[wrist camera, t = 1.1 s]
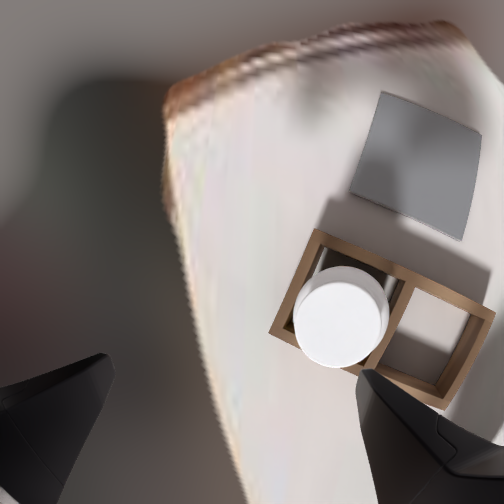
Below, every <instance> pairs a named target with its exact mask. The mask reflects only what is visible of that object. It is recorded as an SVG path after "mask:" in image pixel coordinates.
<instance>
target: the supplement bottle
mask: <svg viewBox="0 0 504 504" xmlns="http://www.w3.org/2000/svg"><path fill="white" fill-rule="evenodd" d="M293 322H294V329H295V335H296V339H297V341H298V344H299V346H300V347H301V349H302V350H303V352H304V353H305V354H306V355H307V356H308V357H309V358H310V359H311V360H313V361H315V362H316V363H318V364H320V365H323V366H327V367H333V368H341V367H347V366H351V365H354V364H356V363H358V362H360V361H361V360H363V359H364V358H365V357H366V356H368V355H369V354H370V352H372V351H373V350H374V349H375V348H376V347H377V346H378V344H379V343H380V342H381V340H382V338H383V336H384V334H385V332H386V329H387V326H388V322H389V305H388V300H387V297H386V294H385V292H384V290H383V288H382V287H381V285H380V284H379V283H378V282H377V281H376V280H375V279H374V278H373V277H372V276H371V275H369V274H368V273H366V272H364V271H362V270H360V269H358V268H354V267H348V266H337V267H332V268H328V269H325V270H323V271H321V272H319V273H317V274H316V275H314V276H313V277H312V278H311V279H309V280H308V281H307V282H306V283H305V285H304V286H303V287H302V289H301V290H300V292H299V294H298V296H297V299H296V302H295V306H294V311H293Z"/></svg>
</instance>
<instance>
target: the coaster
mask: <svg viewBox="0 0 504 504" xmlns="http://www.w3.org/2000/svg"><path fill="white" fill-rule="evenodd" d="M481 139H482V135H481V134H479V133H477V132H475V131H473V130H471V129H469V128H467V127H465V126H463V125H461V124H459V123H457V122H455V121H453V120H451V119H449V118H447V117H444V116H442V115H440V114H438V113H435V112H433V111H431V110H428V109H426V108H423V107H421V106H418V105H416V104H413V103H410V102H408V101H405V100H402V99H399V98H396V97H393V96H390V95H387V94H384V93H381V95H380V98H379V102H378V105H377V109H376V112H375V115H374V119H373V122H372V125H371V128H370V131H369V134H368V138H367V141H366V144H365V147H364V150H363V153H362V156H361V159H360V161H359V164H358V167H357V170H356V173H355V176H354V178H353V181H352V184H351V187H350V189H349V193H352V194H354V195H357V196H359V197H362V198H364V199H367V200H369V201H372V202H374V203H377V204H379V205H382V206H384V207H386V208H389V209H391V210H393V211H396V212H398V213H400V214H403V215H405V216H407V217H409V218H411V219H414V220H416V221H418V222H420V223H422V224H424V225H427V226H429V227H431V228H433V229H435V230H437V231H439V232H441V233H443V234H445V235H447V236H449V237H451V238H453V239H455V240H457V241H462V238H463V234H464V230H465V227H466V223H467V219H468V215H469V211H470V207H471V202H472V198H473V193H474V188H475V182H476V177H477V171H478V164H479V157H480V149H481Z"/></svg>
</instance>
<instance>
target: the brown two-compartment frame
mask: <svg viewBox="0 0 504 504" xmlns="http://www.w3.org/2000/svg"><path fill="white" fill-rule="evenodd" d="M324 247H327V248H329V249H331V250H334V251H336V252H338V253H340V254H343V255H345V256H347V257H350V258H352V259H354V260H357V261H359V262H361V263H363V264H366V265H368V266H370V267H372V268H375V269H377V270H379V271H381V272H384V273H386V274H388V275H390V276H392V277H395V278H397V279H399V282H398V284H397V287H396V289H395V291H394V294H393V296H392V298H391V300H390V303H389V322H388V326H387V329H386V332H385V334H384V336H383V338H382V340H381V342H380V343H379V344H378V346H377V347H376V348H375V349H374V350H373V351H372V352H370V354H369V355H368V356H366V357H365V358H364V359H363V360H361V361H360V362H358V363H356V364H354V365H351V366H347V367H341V369H343V370H345V371H348V372H350V373H352V374H354V375H356V376H359V373H360V370H362V369H369V368H372V369H374V370H375V371H377V372H378V373H380V374H381V375H383V376H384V377H385V378H387V379H388V380H390V381H391V382H393V383H394V384H396V385H397V386H399V387H400V388H401V389H403V390H404V391H406V392H407V393H409V394H410V395H412V396H413V397H415V398H416V399H418V400H419V401H421V402H422V403H425V404H427V405H430V406H433V407H435V408H438V409H441V410H444V411H445V409H446V408H447V406H448V405H449V403H450V402H451V400H452V399H453V397H454V396H455V394H456V392H457V391H458V389H459V387H460V386H461V384H462V382H463V381H464V379H465V377H466V375H467V374H468V372H469V370H470V368H471V366H472V364H473V363H474V361H475V359H476V357H477V355H478V353H479V351H480V349H481V347H482V345H483V342H484V340H485V338H486V336H487V334H488V331H489V329H490V327H491V324H492V322H493V320H494V317H495V315H496V312H494V311H492V310H490V309H488V308H486V307H484V306H482V305H481V304H479V303H477V302H475V301H473V300H471V299H469V298H467V297H465V296H463V295H461V294H459V293H457V292H455V291H453V290H451V289H449V288H447V287H445V286H443V285H441V284H439V283H437V282H435V281H432V280H430V279H428V278H426V277H424V276H422V275H420V274H418V273H416V272H413V271H411V270H409V269H407V268H405V267H403V266H400V265H398V264H396V263H394V262H392V261H389V260H387V259H385V258H383V257H380V256H378V255H376V254H374V253H371V252H369V251H367V250H365V249H362V248H360V247H358V246H355V245H353V244H351V243H348V242H346V241H344V240H341V239H339V238H336V237H334V236H332V235H329V234H327V233H324V232H322V231H320V230H317V229H315V228H314V230H313V232H312V235H311V237H310V240H309V242H308V244H307V247H306V249H305V252H304V254H303V256H302V259H301V261H300V263H299V266H298V268H297V270H296V273H295V275H294V277H293V279H292V282H291V284H290V286H289V289H288V291H287V293H286V295H285V298H284V300H283V302H282V304H281V306H280V309H279V311H278V313H277V315H276V317H275V320H274V322H273V324H272V326H271V328H270V330H269V332H268V333H269V334H271V335H273V336H275V337H277V338H279V339H281V340H283V341H285V342H287V343H289V344H291V345H293V346H295V347H297V348H299V349H301V347H300V346H299V344H298V341H297V339H296V335H295V329H294V323H293V322H292V319H293V311H294V306H295V302H296V299H297V296H298V294H299V292H300V290H301V289H302V287H303V286H304V285H305V283H306V282H307V281H308V280H309V279H311V278H312V275H313V273H314V271H315V269H316V266H317V264H318V262H319V259H320V257H321V254H322V252H323V250H324ZM415 287H416V288H418V289H420V290H423V291H425V292H427V293H429V294H431V295H433V296H435V297H437V298H439V299H442V300H444V301H446V302H448V303H450V304H452V305H454V306H456V307H458V308H460V309H462V310H464V311H466V312H468V313H470V314H471V316H470V319H469V321H468V323H467V325H466V328H465V330H464V332H463V334H462V336H461V338H460V341H459V343H458V345H457V347H456V349H455V351H454V353H453V354H452V356H451V358H450V360H449V362H448V364H447V366H446V367H445V369H444V371H443V373H442V374H441V376H440V378H439V380H438V381H437V383H436V385H435V386H434V385H432V384H429V383H427V382H424V381H422V380H419V379H417V378H415V377H412V376H410V375H407V374H405V373H403V372H400V371H398V370H396V369H393V368H391V367H389V366H386V365H384V364H382V363H379V360H380V358H381V357H382V355H383V353H384V351H385V349H386V347H387V346H388V344H389V342H390V340H391V338H392V336H393V334H394V332H395V330H396V328H397V326H398V324H399V322H400V320H401V318H402V316H403V313H404V311H405V309H406V307H407V305H408V302H409V300H410V298H411V296H412V293H413V291H414V288H415ZM301 350H302V349H301Z"/></svg>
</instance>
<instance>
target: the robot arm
mask: <svg viewBox="0 0 504 504" xmlns="http://www.w3.org/2000/svg"><path fill="white" fill-rule="evenodd" d="M115 375H116V372H115V369H114V365H113V362H112V359H111V356H110V355H109V354H105V353H98V354H95V355H93V356H90V357H87V358H85V359H82V360H80V361H77V362H74V363H72V364H69V365H66V366H63V367H61V368H58V369H55V370H53V371H50V372H47V373H44V374H41V375H39V376H36V377H33V378H30V379H27V380H24V381H21V382H18V383H15V384H12V385H8V386H5V387H0V504H57V502H58V500H59V498H60V495H61V493H62V491H63V488H64V485H65V484H66V481H67V479H68V477H69V475H70V473H71V470H72V468H73V466H74V464H75V462H76V460H77V458H78V456H79V454H80V451H81V450H82V448H83V446H84V443H85V442H86V440H87V437H88V435H89V433H90V431H91V430H92V428H93V426H94V424H95V422H96V420H97V418H98V416H99V414H100V412H101V410H102V408H103V406H104V404H105V401H106V399H107V396H108V393H109V391H110V389H111V386H112V384H113V381H114V379H115ZM356 399H357V406H358V413H359V421H360V428H361V432H362V436H363V440H364V444H365V448H366V452H367V456H368V460H369V464H370V468H371V473H372V477H373V481H374V486H375V490H376V495H377V499H378V504H504V446H500V445H496V444H494V443H492V442H489V441H487V440H485V439H483V438H481V437H479V436H477V435H475V434H473V433H471V432H469V431H467V430H465V429H463V428H461V427H459V426H458V425H456V424H454V423H453V422H451V421H449V420H448V419H446V418H445V417H443V416H442V415H439V414H438V413H437V412H436V411H434V410H433V409H431V408H430V407H428V406H427V405H425V404H424V403H422V402H421V401H419V400H418V399H416V398H415V397H413V396H412V395H410V394H409V393H407V392H406V391H404V390H403V389H401V388H400V387H399V386H397V385H396V384H394V383H393V382H391V381H390V380H388V379H387V378H385V377H384V376H383V375H381V374H380V373H378V372H377V371H375V370H374V369H372V368H369V369H362V370H360V373H359V377H358V381H357V385H356Z"/></svg>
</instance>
